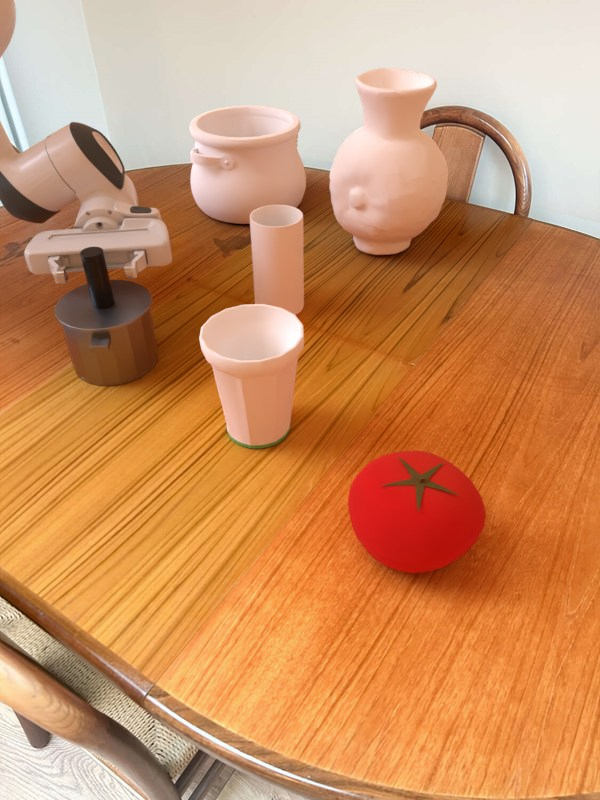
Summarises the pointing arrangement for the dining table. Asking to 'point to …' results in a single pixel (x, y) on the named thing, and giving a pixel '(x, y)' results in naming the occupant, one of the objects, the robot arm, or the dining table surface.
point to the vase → (389, 164)
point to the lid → (102, 299)
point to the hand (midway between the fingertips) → (95, 276)
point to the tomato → (415, 511)
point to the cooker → (114, 352)
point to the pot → (245, 161)
